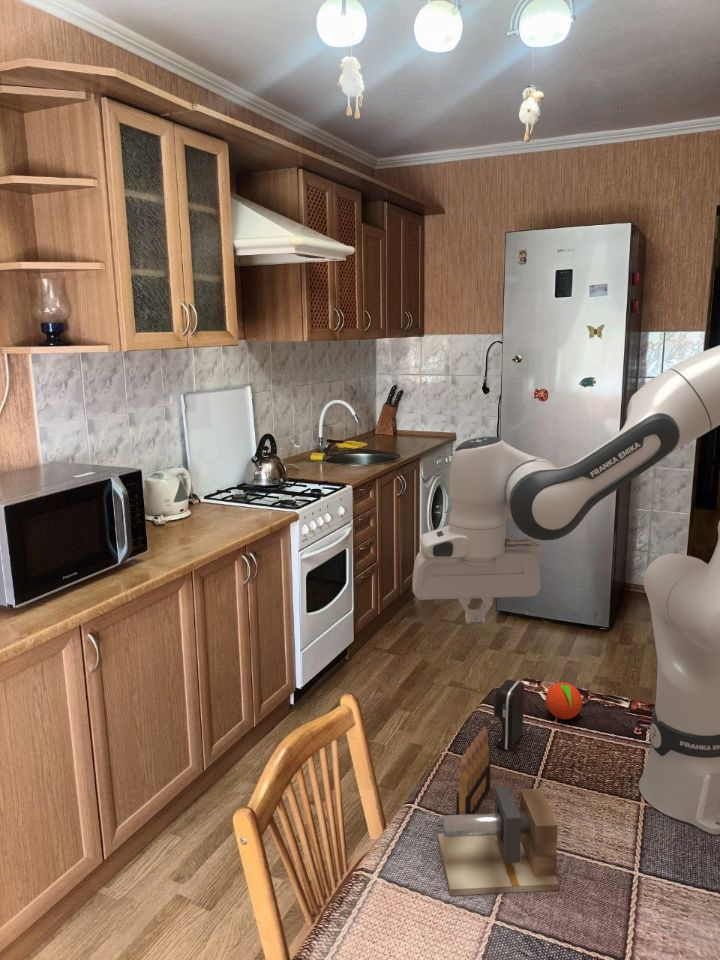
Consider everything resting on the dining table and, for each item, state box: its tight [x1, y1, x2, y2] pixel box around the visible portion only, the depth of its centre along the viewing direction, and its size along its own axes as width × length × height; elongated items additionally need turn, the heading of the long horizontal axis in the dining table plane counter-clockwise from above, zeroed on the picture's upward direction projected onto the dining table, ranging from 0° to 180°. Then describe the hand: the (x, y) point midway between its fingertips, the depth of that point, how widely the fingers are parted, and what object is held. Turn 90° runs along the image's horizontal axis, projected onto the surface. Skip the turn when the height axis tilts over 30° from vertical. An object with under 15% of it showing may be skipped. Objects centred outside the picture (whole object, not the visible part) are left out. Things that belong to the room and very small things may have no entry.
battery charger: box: [493, 679, 525, 751], centre depth 133 cm, size 7×4×11 cm, turn 148°
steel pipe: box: [442, 811, 530, 837], centre depth 102 cm, size 14×3×3 cm, turn 93°
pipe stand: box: [437, 788, 560, 897], centre depth 103 cm, size 15×11×9 cm
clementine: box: [545, 681, 583, 720], centre depth 141 cm, size 8×7×7 cm
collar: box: [493, 785, 521, 863], centre depth 102 cm, size 2×7×7 cm, turn 3°
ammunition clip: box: [455, 725, 491, 815], centre depth 115 cm, size 11×2×12 cm, turn 150°
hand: (475, 622), depth 116 cm, fingers closed
